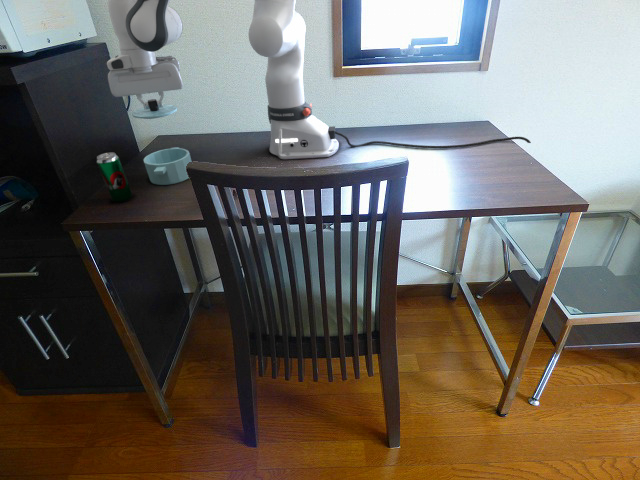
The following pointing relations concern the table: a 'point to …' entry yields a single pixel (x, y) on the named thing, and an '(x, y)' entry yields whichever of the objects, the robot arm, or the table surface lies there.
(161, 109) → the lid
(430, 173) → the table surface
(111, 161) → the soda can
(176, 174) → the pan
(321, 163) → the table surface
